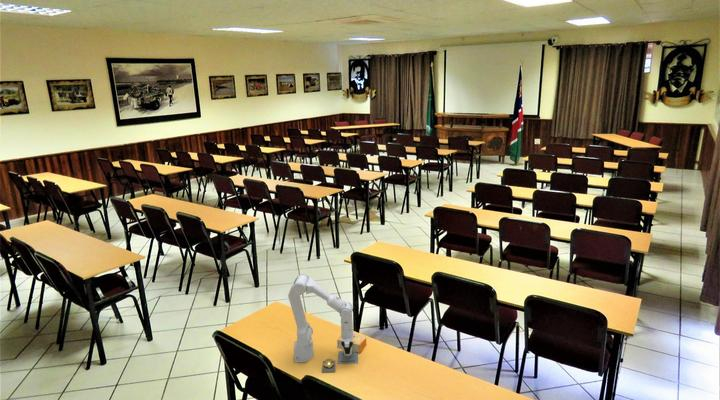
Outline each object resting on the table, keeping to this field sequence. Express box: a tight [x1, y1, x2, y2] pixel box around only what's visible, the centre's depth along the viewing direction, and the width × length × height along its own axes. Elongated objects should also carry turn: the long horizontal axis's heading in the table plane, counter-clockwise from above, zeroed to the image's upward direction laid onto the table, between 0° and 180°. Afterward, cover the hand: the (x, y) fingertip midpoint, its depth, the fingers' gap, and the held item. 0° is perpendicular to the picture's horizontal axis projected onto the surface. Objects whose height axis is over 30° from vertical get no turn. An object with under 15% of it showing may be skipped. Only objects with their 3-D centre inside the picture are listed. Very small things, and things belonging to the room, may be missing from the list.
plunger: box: [322, 358, 334, 367], centre depth 205 cm, size 5×5×4 cm
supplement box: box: [336, 334, 367, 354], centre depth 221 cm, size 8×5×13 cm
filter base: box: [337, 350, 359, 365], centre depth 213 cm, size 10×10×2 cm
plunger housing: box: [321, 360, 336, 374], centre depth 205 cm, size 6×6×3 cm
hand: (347, 350), depth 212 cm, fingers closed on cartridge, 4 cm apart
